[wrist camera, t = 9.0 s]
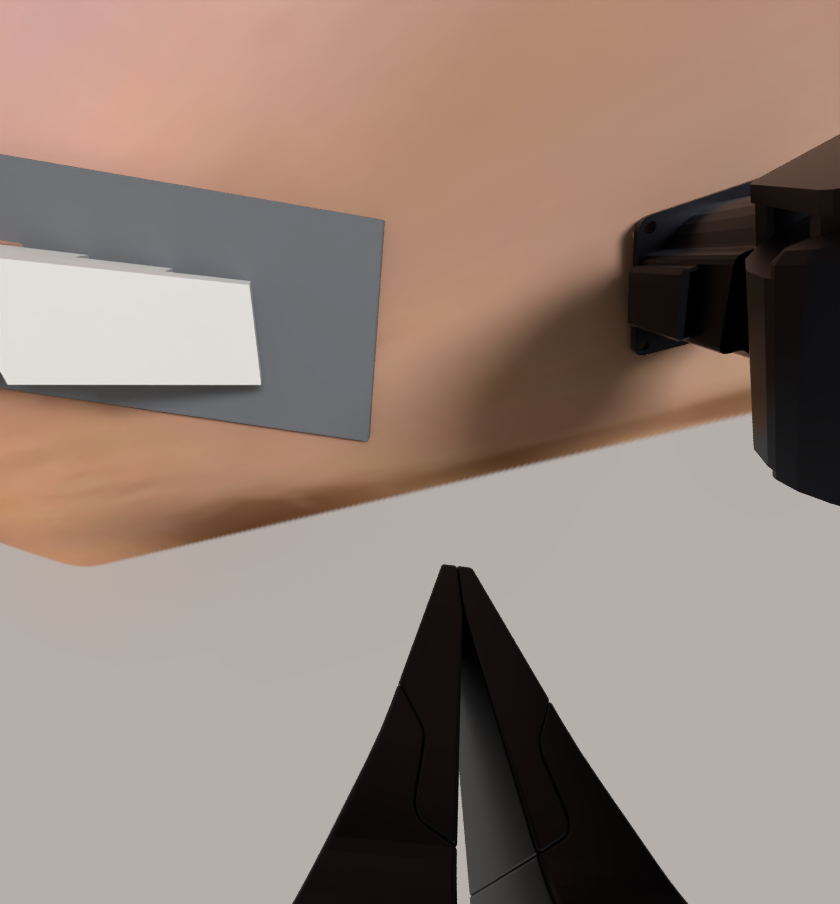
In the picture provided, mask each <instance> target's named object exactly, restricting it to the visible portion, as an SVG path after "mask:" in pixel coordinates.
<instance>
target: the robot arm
mask: <svg viewBox="0 0 840 904" xmlns="http://www.w3.org/2000/svg"><path fill="white" fill-rule="evenodd" d="M648 222H650V223H651V226H652V227H651V230H650V231H649V233H648V234H646V233H645V231H644V229H645V226H646V224H647V223H648ZM628 323H629V324H631V350H632V351H633V353H636V354H638V355H646V354H650V353H654V352H658V351H662V350H665V349H669V348H673V347H677V346H681V345H685V344H688V343H692V344H695V345H698V346H701V347H704V348H707V349H710V350H713V351H716V352H719V353H722V354H728V353H735V354H738V355H742V356H745V357H748V358H750V378H751V400H752V423H753V441H754V450H755V451H756V452H757V453H758V455H759V456H760V457H761V458H762V460H763V461H764V462H765V463H766V465H767V466H768V467H770V468H771V469H772V470H773V477H774V478H775V479H776V480H778V481H780V482H782V483H784V484H785V485H787V486H789V487H791V488H793V489H795V490H797V491H798V492H801V493H804V494H806V495H809V496H812V497H815V498H817V499H820V500H823V501H826V502H829V503H831V504H835V505H838V506H840V134H839V135H837V136H835V137H834V138H832V139H830V140H828V141H826V142H824V143H823V144H821V145H819V146H817V147H815V148H813V149H812V150H810V151H808V152H806V153H804V154H802V155H801V156H799V157H797V158H795V159H793V160H791V161H790V162H788V163H786V164H784V165H782V166H780V167H778V168H777V169H775V170H773V171H771V172H769V173H767V174H766V175H764V176H762V177H760V178H758V179H755V180H752V181H749V182H746V183H743V184H740V185H737V186H734V187H731V188H728V189H725V190H722V191H719V192H716V193H713V194H710V195H707V196H704V197H701V198H698V199H695V200H692V201H689V202H686V203H683V204H680V205H677V206H674V207H671V208H668V209H665V210H662V211H659V212H656V213H653V214H650V215H647V216H645V217H643V218H641V219H640V220H639V221H638V223H637V224H636V226H635V230H634V251H633V268H632V269H631V271H630V272H629V294H628ZM644 341H645V342H646V344H645V346H644V347H643V348H641V349H640V348H639V347H640V345H641V343H642V342H644ZM548 702H549V699H548V697H547V695H546V693H545V692H544V690H543V688H542V687H541V685H540V683H539V681H538V680H537V678H536V676H535V675H534V673H533V671H532V670H531V668H530V666H529V664H528V663H527V661H526V659H525V658H524V656H523V654H522V652H521V651H520V649H519V647H518V646H517V644H516V643H515V641H514V639H513V637H512V636H511V634H510V632H509V630H508V629H507V627H506V625H505V624H504V622H503V620H502V618H501V617H500V615H499V613H498V612H497V610H496V608H495V607H494V605H493V603H492V601H491V600H490V598H489V596H488V595H487V593H486V591H485V590H484V588H483V586H482V584H481V583H480V581H479V579H478V578H477V576H476V574H475V573H474V571H473V569H471V568H468V567H461V566H459V567H457V568H456V566H453V565H442V566H441V569H440V572H439V574H438V577H437V580H436V583H435V585H434V588H433V591H432V594H431V596H430V599H429V602H428V604H427V607H426V610H425V613H424V615H423V618H422V621H421V624H420V626H419V629H418V632H417V634H416V637H415V640H414V643H413V645H412V648H411V651H410V654H409V656H408V659H407V662H406V664H405V667H404V670H403V673H402V675H401V678H400V681H399V684H398V687H397V689H396V691H395V694H394V697H393V700H392V702H391V705H390V707H389V710H388V712H387V715H386V718H385V720H384V722H383V725H382V727H381V730H380V732H379V734H378V736H377V738H376V741H375V743H374V745H373V747H372V749H371V751H370V753H369V756H368V758H367V760H366V762H365V764H364V766H363V768H362V770H361V772H360V774H359V776H358V778H357V780H356V782H355V784H354V786H353V788H352V790H351V792H350V794H349V796H348V798H347V800H346V802H345V804H344V806H343V808H342V810H341V812H340V814H339V816H338V818H337V820H336V822H335V824H334V826H333V828H332V830H331V832H330V834H329V836H328V838H327V839H326V841H325V843H324V846H323V847H322V849H321V851H320V853H319V855H318V857H317V859H316V861H315V863H314V865H313V867H312V869H311V870H310V872H309V874H308V876H307V878H306V880H305V882H304V884H303V885H302V887H301V889H300V891H299V892H298V894H297V896H296V898H295V900H294V901H293V903H292V904H457V877H456V875H457V866H456V864H457V850H456V846H457V826H458V785H459V774H460V786H461V797H462V809H463V821H464V831H465V832H464V833H465V844H466V855H467V868H468V879H469V890H470V895H471V897H470V904H688V903H687V902H686V901H685V899H684V898H683V897H682V896H681V894H680V893H679V892H678V891H677V889H676V888H675V887H674V885H673V884H672V883H671V882H670V880H669V879H668V878H667V876H666V875H665V874H664V872H663V871H662V869H661V868H660V866H659V865H658V864H657V862H656V861H655V859H654V858H653V856H652V855H651V853H650V852H649V851H648V849H647V848H646V846H645V845H644V843H643V842H642V840H641V839H640V838H639V836H638V835H637V833H636V832H635V830H634V829H633V828H632V826H631V825H630V823H629V822H628V820H627V819H626V817H625V816H624V815H623V813H622V812H621V810H620V809H619V807H618V806H617V804H616V803H615V802H614V800H613V799H612V797H611V796H610V794H609V793H608V791H607V790H606V789H605V787H604V786H603V784H602V783H601V781H600V780H599V778H598V777H597V775H596V774H595V772H594V771H593V769H592V768H591V766H590V765H589V763H588V762H587V760H586V759H585V758H584V756H583V754H582V753H581V751H580V750H579V748H578V747H577V745H576V743H575V742H574V740H573V739H572V737H571V735H570V734H569V732H568V730H567V729H566V727H565V725H564V724H563V722H562V720H561V719H560V717H559V715H558V714H557V712H556V710H555V709H554V707H553V705H552V704H551V703H550V702H549V703H548Z"/></svg>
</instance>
